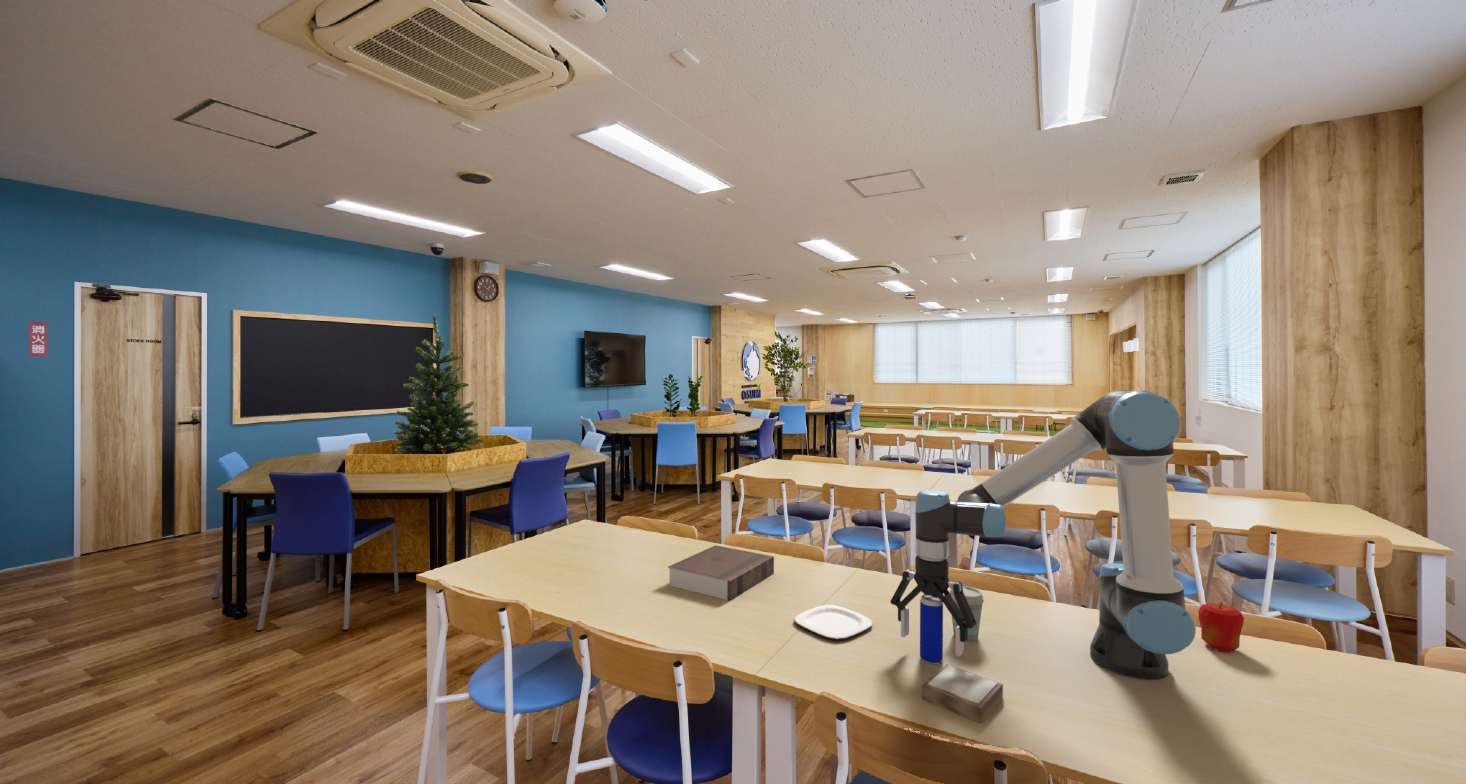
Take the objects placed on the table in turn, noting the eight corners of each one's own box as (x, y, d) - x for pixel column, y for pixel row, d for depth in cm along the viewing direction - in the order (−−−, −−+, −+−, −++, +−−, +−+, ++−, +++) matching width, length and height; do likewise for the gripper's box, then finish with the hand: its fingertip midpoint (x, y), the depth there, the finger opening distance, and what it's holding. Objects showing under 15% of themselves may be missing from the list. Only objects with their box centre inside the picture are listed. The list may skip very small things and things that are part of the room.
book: (773, 575, 194) (773, 556, 194) (730, 602, 170) (730, 581, 170) (715, 562, 207) (715, 545, 207) (667, 586, 183) (667, 566, 183)
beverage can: (937, 654, 137) (937, 593, 137) (946, 665, 132) (946, 602, 132) (916, 654, 137) (917, 593, 137) (924, 665, 132) (924, 602, 131)
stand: (1002, 698, 118) (1002, 682, 118) (980, 723, 110) (980, 706, 110) (946, 677, 127) (946, 662, 127) (922, 698, 118) (922, 683, 118)
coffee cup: (987, 645, 142) (987, 598, 141) (951, 642, 143) (951, 596, 143) (979, 630, 150) (979, 586, 150) (945, 628, 152) (945, 584, 151)
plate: (837, 648, 141) (837, 641, 141) (786, 624, 155) (786, 618, 155) (880, 627, 153) (880, 621, 153) (829, 606, 167) (829, 601, 167)
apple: (1232, 643, 143) (1233, 597, 142) (1250, 658, 135) (1251, 609, 134) (1191, 638, 145) (1192, 592, 145) (1207, 652, 138) (1207, 605, 137)
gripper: (991, 564, 128) (991, 656, 128) (891, 542, 145) (891, 623, 146) (979, 572, 122) (978, 668, 123) (877, 548, 140) (876, 632, 140)
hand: (931, 644), depth 134 cm, fingers open, 13 cm apart
